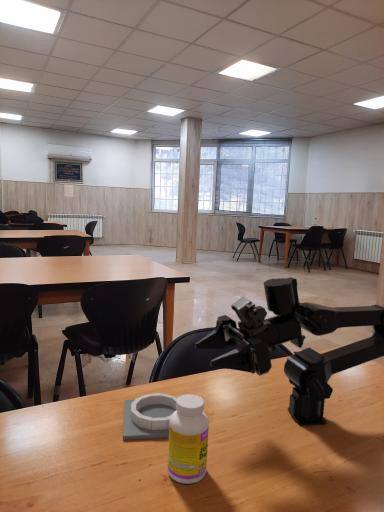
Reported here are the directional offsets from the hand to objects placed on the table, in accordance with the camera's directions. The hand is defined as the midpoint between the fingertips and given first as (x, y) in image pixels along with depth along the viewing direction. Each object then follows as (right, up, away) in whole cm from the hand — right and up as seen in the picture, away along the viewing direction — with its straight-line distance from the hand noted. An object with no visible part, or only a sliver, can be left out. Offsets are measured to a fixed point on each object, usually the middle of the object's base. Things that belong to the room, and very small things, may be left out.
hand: (202, 354), depth 75 cm
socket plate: (-10, -15, +6) cm, 19 cm away
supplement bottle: (-3, -18, -10) cm, 20 cm away
